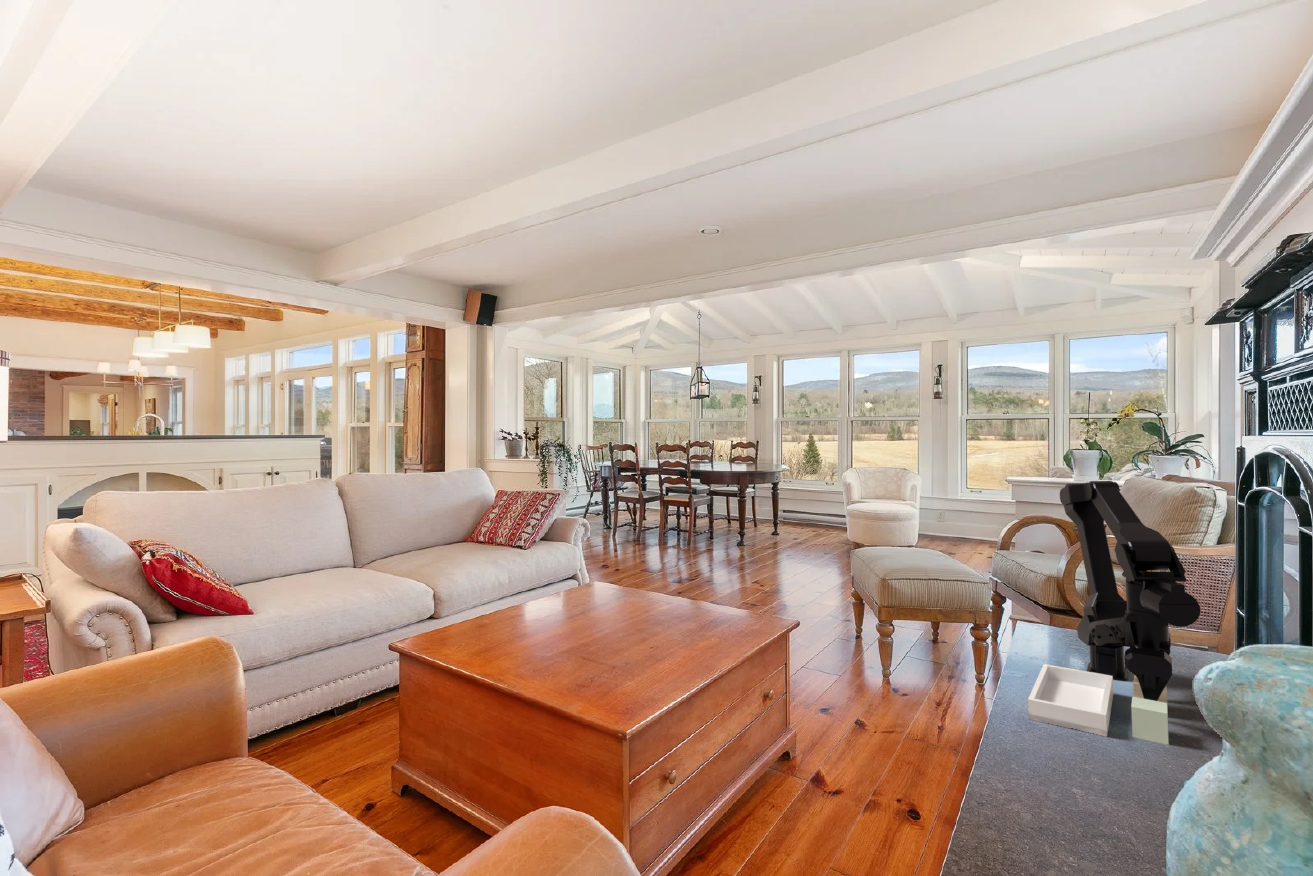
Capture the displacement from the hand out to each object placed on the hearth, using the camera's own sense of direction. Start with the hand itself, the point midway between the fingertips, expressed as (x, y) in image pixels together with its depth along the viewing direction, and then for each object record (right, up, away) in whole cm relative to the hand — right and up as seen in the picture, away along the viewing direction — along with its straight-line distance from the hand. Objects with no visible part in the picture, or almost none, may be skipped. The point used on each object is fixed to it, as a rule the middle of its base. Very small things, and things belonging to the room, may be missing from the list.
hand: (1150, 696), depth 109 cm
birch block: (0, -2, 0) cm, 2 cm away
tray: (-12, -3, +2) cm, 13 cm away
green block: (-7, -3, -9) cm, 11 cm away
